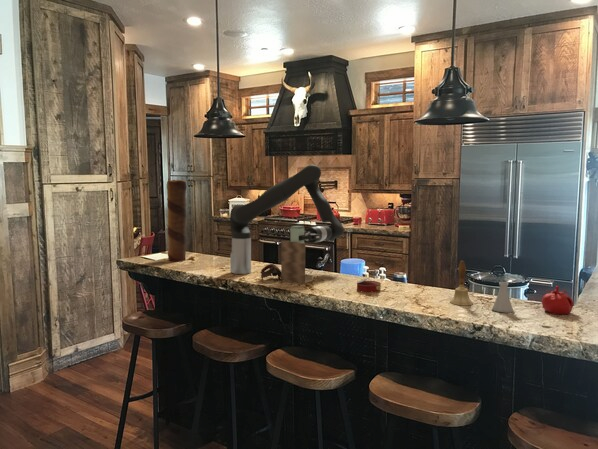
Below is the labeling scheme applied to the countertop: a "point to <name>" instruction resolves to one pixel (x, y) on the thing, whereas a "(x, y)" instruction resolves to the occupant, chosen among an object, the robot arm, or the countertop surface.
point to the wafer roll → (176, 219)
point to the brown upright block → (293, 263)
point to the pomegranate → (557, 302)
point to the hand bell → (461, 289)
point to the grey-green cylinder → (297, 233)
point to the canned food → (369, 285)
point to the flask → (503, 300)
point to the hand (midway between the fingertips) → (295, 237)
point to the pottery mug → (270, 271)
